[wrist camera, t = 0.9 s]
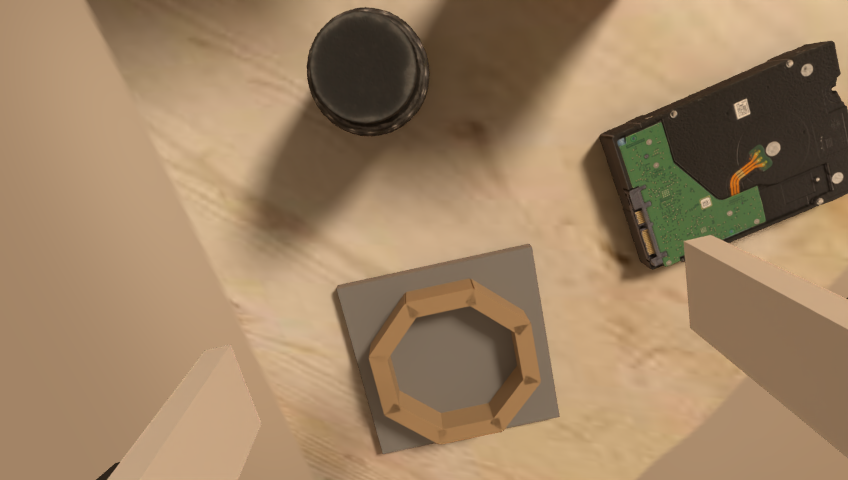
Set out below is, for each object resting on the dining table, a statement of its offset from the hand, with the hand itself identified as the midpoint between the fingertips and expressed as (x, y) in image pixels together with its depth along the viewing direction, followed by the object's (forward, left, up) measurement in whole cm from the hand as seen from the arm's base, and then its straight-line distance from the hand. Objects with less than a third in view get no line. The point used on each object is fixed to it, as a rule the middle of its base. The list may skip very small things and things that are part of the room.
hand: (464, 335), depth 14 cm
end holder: (+12, -1, -21) cm, 24 cm away
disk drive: (+2, +20, -22) cm, 30 cm away
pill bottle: (-8, -2, -21) cm, 23 cm away
